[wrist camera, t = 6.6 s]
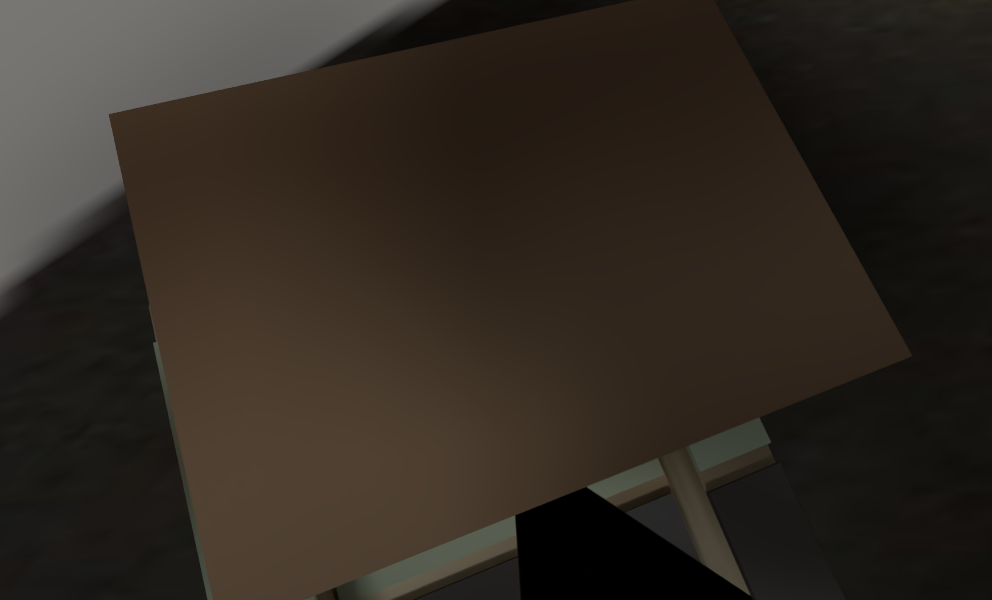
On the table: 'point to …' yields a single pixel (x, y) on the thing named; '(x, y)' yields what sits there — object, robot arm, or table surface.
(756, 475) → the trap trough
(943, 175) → the table surface
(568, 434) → the walnut block
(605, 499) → the robot arm
